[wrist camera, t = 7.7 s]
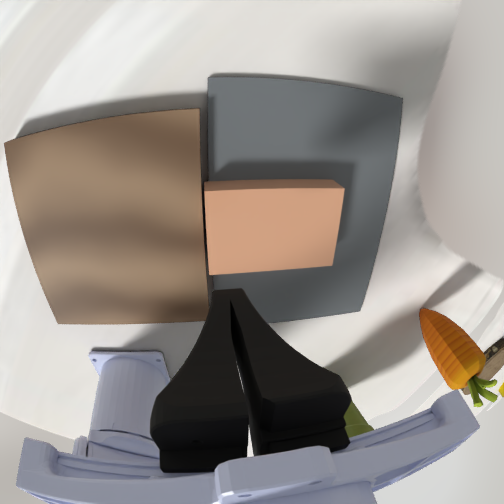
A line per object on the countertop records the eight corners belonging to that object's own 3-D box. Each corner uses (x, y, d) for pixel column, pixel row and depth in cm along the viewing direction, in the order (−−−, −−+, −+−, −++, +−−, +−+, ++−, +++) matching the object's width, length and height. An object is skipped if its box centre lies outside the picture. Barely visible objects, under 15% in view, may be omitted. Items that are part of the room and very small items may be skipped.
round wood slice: (446, 393, 51) (452, 402, 48) (482, 346, 43) (490, 356, 40) (484, 375, 53) (489, 383, 51) (515, 330, 45) (522, 338, 43)
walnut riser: (209, 308, 25) (210, 320, 24) (62, 312, 23) (58, 323, 22) (199, 107, 17) (199, 109, 16) (14, 138, 15) (4, 142, 13)
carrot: (397, 316, 30) (465, 420, 17) (428, 286, 29) (507, 383, 16) (413, 330, 32) (473, 422, 20) (441, 302, 31) (508, 390, 18)
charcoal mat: (358, 308, 28) (360, 311, 28) (216, 324, 26) (216, 327, 26) (399, 97, 18) (402, 98, 18) (207, 77, 16) (207, 77, 16)
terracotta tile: (322, 252, 23) (332, 265, 22) (208, 259, 22) (209, 275, 20) (332, 179, 20) (344, 188, 19) (204, 181, 19) (204, 191, 17)
